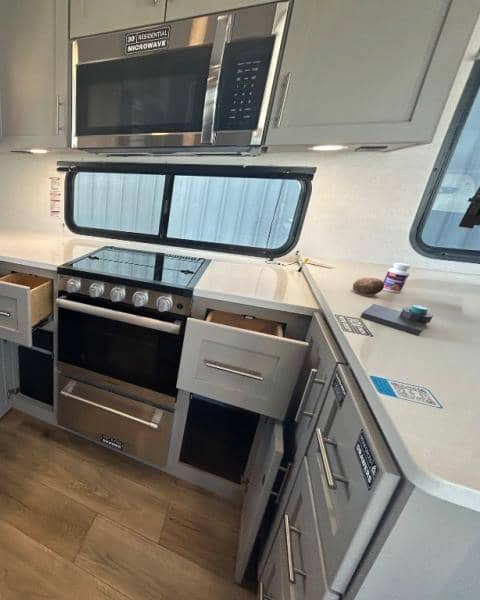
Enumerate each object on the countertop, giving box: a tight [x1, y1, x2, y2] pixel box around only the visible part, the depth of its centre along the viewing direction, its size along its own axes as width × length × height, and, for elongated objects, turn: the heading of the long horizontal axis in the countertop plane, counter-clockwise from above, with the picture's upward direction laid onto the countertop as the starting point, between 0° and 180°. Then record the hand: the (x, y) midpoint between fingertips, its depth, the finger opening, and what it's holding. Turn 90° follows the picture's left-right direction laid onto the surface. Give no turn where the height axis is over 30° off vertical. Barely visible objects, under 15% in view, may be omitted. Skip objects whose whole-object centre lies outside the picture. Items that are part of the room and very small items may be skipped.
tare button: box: [410, 304, 429, 315], centre depth 89 cm, size 3×3×2 cm
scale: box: [360, 303, 434, 337], centre depth 90 cm, size 12×12×4 cm
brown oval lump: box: [352, 277, 384, 297], centre depth 109 cm, size 8×8×6 cm
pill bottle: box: [382, 261, 411, 294], centre depth 114 cm, size 5×5×10 cm
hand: (469, 226), depth 93 cm, fingers open, 13 cm apart
